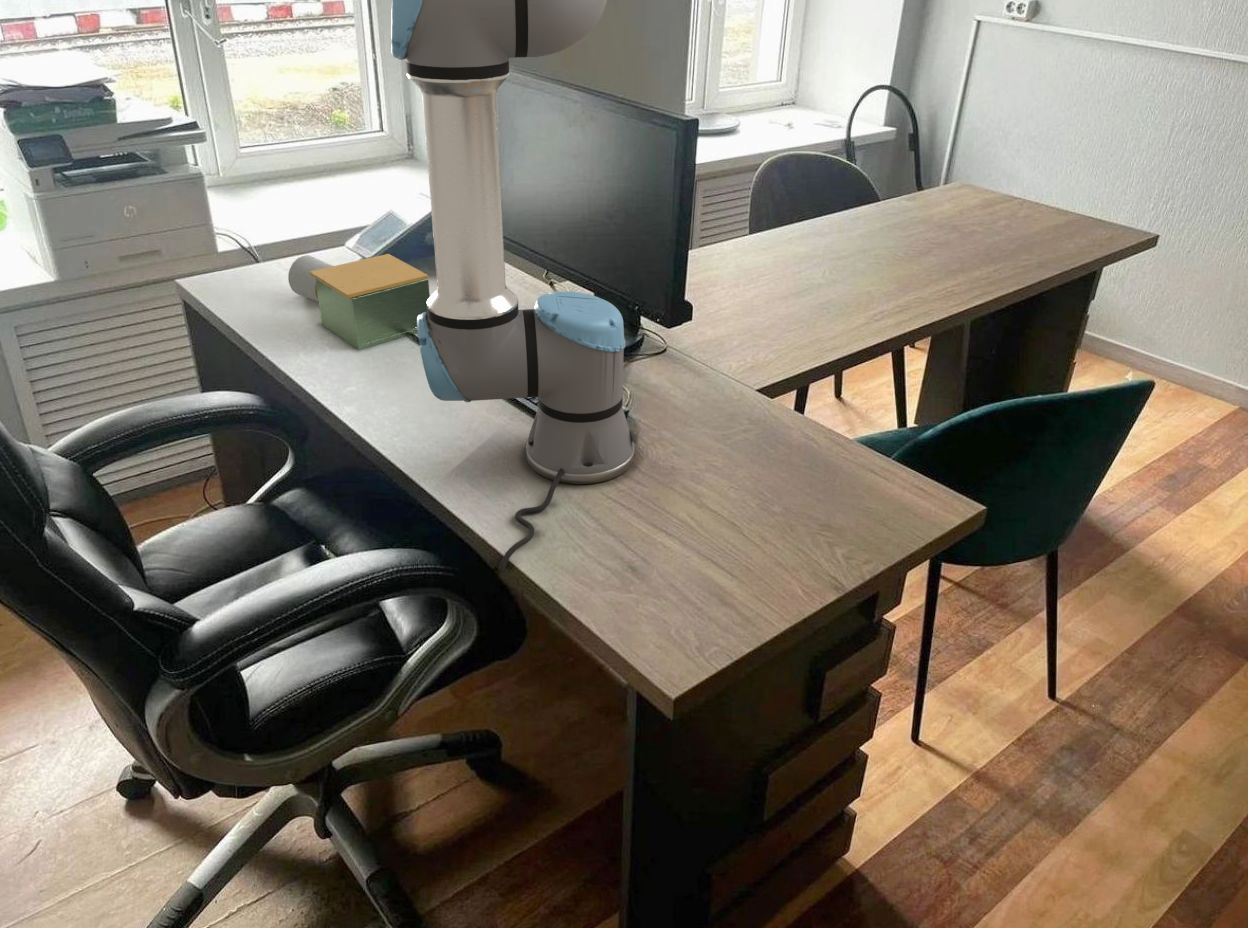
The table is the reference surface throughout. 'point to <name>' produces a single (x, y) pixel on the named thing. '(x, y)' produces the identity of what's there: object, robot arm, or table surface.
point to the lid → (368, 275)
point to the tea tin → (373, 313)
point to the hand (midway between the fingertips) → (466, 156)
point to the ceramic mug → (305, 276)
